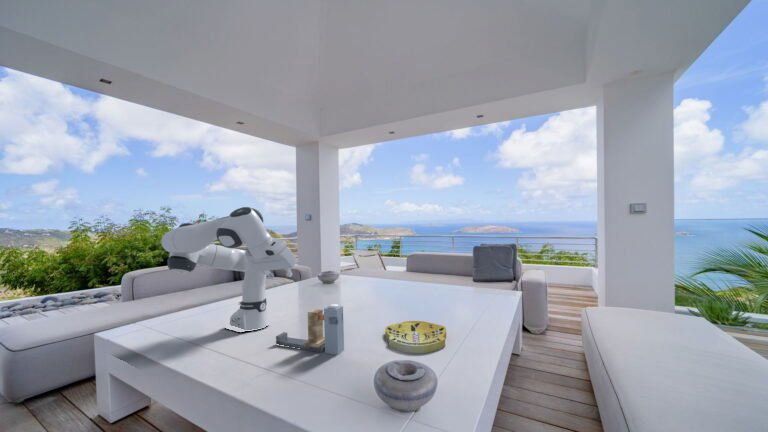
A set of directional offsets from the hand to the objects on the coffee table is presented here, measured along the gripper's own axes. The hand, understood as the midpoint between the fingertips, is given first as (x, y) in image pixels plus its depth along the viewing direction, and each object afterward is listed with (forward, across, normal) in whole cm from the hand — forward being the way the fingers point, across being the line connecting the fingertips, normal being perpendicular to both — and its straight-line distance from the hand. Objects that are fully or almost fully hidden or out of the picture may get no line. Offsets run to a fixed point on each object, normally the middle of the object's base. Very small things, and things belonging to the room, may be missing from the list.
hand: (281, 276), depth 113 cm
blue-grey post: (+37, +10, -5) cm, 38 cm away
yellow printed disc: (+53, +36, +15) cm, 65 cm away
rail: (+35, -6, -5) cm, 36 cm away
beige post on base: (+34, +1, -4) cm, 34 cm away
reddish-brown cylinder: (+26, +7, +2) cm, 27 cm away
